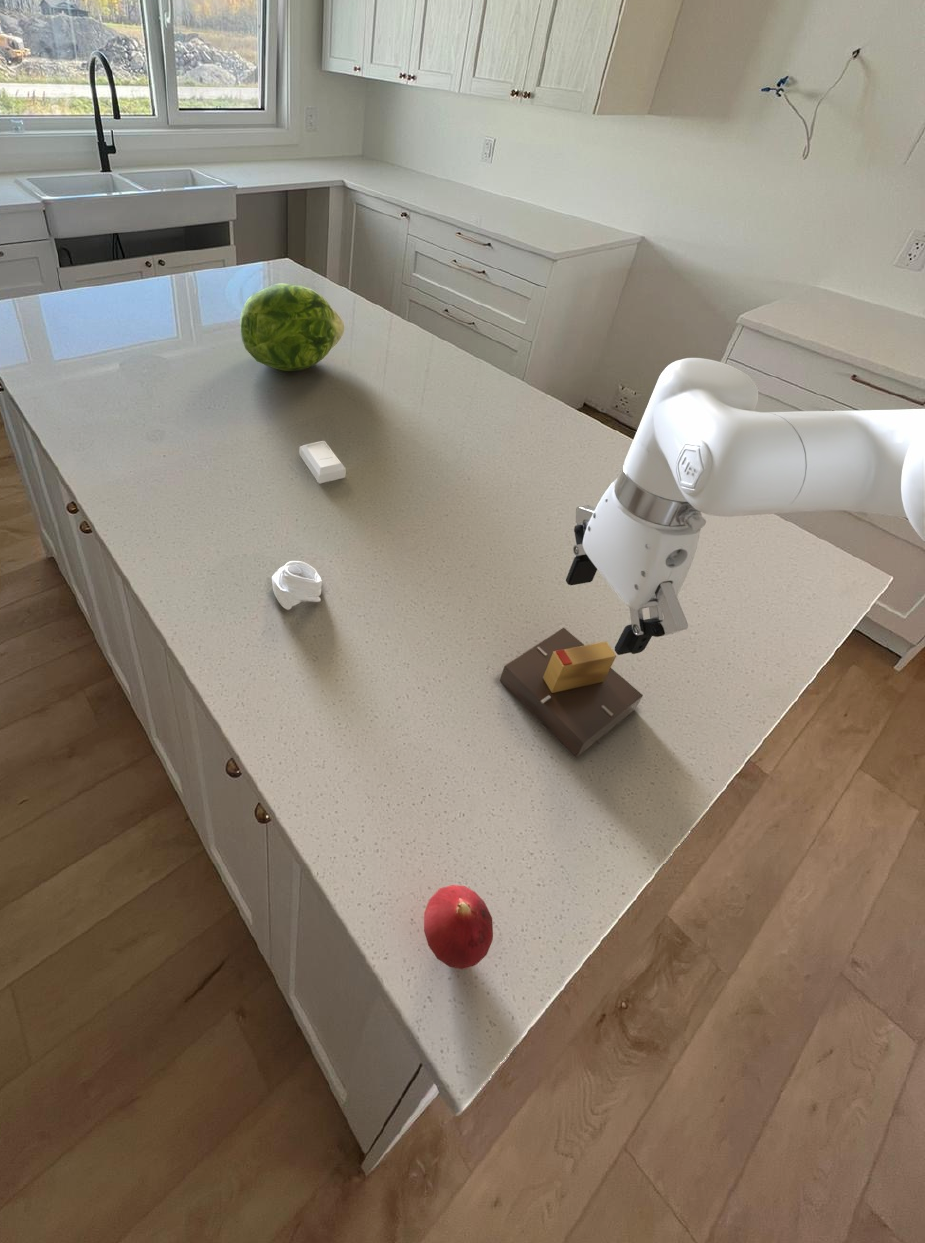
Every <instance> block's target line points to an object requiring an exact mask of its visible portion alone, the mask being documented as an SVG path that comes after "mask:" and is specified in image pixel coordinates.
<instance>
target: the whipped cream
mask: <svg viewBox="0 0 925 1243" xmlns="http://www.w3.org/2000/svg"><path fill="white" fill-rule="evenodd" d="M299 575H300V576H299ZM271 582H272V583H271V584H272V591H273V594H274V596H275V599H276V600H277V602H278V603H279V604H280V606H281V607H283V608H284V609H285V610H287V611H291V609H292V607H295V606H296V605H298V604H300V603H301V602H305V603H308V602H313V603H321V600H322V599H321V597H320V596H321V594H322V586H323V581H322V578H321V576H320V574H319V573H318V571H317V569H316V568H315V567H313V566H312V565H310V564H308V563H307V562H305V561H300V560H291V561H288V562H286V563H285V565H283V566H281V567H280V568H278V569H277V570H276V571H275V572H274V573H273V575H272V576H271Z"/></svg>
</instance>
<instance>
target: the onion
mask: <svg viewBox="0 0 925 1243" xmlns="http://www.w3.org/2000/svg"><path fill="white" fill-rule="evenodd" d="M486 904H487V903H485V901H484V900H483V898H482V897H481V896H479V894H478V893H477V892H476V891H475V890H473V889H471V888H469V887H467V886H466V885H460V884H451V885H448V886H444V887H440V888H438V890H437V891H436V892H435V893H434V894H433V895H432V896H431V897H430V898H429V899H428V901H427V905H426V907H425V910H424V913H423V932H424V936H425V938H426V943H427V945H428V947H429V949H430V950H431V952H432V953H433V955H434V956H435V958H436V959H437V960H439V961H440V962H441V963H443V964H445V965H446V966H448V967H449V968H454V969H459V970H464V969H467V968H471V967H475V966H476V965H478V964H479V963H480V962H481V961H482V960H483V959H484V958H485V957H486V956H487V955H488V953H489V950H490V948H491V945H492V943H493V940H494V938H493V937H494V928H493V926H494V925H493V917H492V914H491V912H490V910H489V908H488V906H487V905H486Z"/></svg>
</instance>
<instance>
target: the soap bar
mask: <svg viewBox="0 0 925 1243" xmlns="http://www.w3.org/2000/svg"><path fill="white" fill-rule="evenodd" d="M299 456H300V458H301V460H302V461H303V463H304V464H305V465H306V467H307V468H308V470H309V471H310V473H311V475H312V476H313V477H314V479H315V480H316V482H317V483H318V484H323V483H328V482H332V481H336V480H341V479H344V478H346V475H347V474H346V472H347V468H346V467H345V465H343V463H342V462H341V461H340V459H339V458H338V457H337V455H336V453H335V452H334V451H333V450H332V449H331V447H330V446H329V444H328V443H327V442H326V441H325V440H321V441H316V442H311V443H306V444H303V445H301V446H299Z"/></svg>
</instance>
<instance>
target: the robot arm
mask: <svg viewBox="0 0 925 1243" xmlns="http://www.w3.org/2000/svg"><path fill="white" fill-rule="evenodd" d="M758 403H759V388H758V386H757V384H756V383H755V380H753V379H752V377H751V376H749V374H747V373H745V372H744V371H743V370H741V369H739V368H736V367H735V366H732V365H730V364H728V363H725V362H721V361H718V360H714V359H709V358H703V357H686V358H685V357H684V358H682V359H678V360H675V361H673V362H671V363H670V364H668V365H667V366H666V367H664V369H663V371H662V372H661V373H660V375H659V376H658V379H657V381H656V384H655V386H654V388H653V391H652V394H651V396H650V398H649V401H648V404H647V406H646V408H645V410H644V413H643V415H642V418H641V420H640V423H639V425H638V428H637V430H636V432H635V435H634V437H633V440H632V442H631V444H630V447H629V449H628V452H627V454H626V457H625V459H624V462H623V464H622V467H621V469H620V471H619V474H618V477H617V478H615V479H614V480H613V481H612V482H611V484H610V485H609V486H608V488H606V490H605V492H604V494H602V496H601V498H600V500H599V501H598V503H597V505H596V507H594V506H592V505H588V504H586V505H580V506H578V505H577V507H576V508H575V523H576V525H575V526H574V527H573V532H574V538H575V545H573V547H572V552H573V554H574V556H575V557H574V558H573V561H572V563H571V566H570V568H569V571H568V573H567V575H566V578H565V582H566V584H567V585H568V586H576V585H577V586H578V585H583V584H589V583H591V582H593V580H594V578H595V576H596V573H597V571H598V572H599V573H600V575H601V576H602V577H603V579H604V580H605V581H606V582H607V584H608V585H609V586H610V587H611V589H612V590H613V592H615V594H616V595H617V596H618V597H619V599H620V600H621V601H622V602H623V603H624V604H625V605H626V606H627V607H628V608H629V615H630V621H631V623H630V624H627V625H625V627H624V628H623V630H622V632H621V634H620V635H619V638H618V640H617V642H616V644H615V646H614V653H615V654H616V655H618V656H620V655H621V656H622V655H626V654H632V655H636V654H640V653H642V652H644V651H645V650H646V648H647V646H648V644H649V643H650V641H651V639H652V637H655V638H660V637H665V636H669V635H674V634H676V633H679V632H682V631H685V630H688V628H689V623H688V621H687V619H686V616H685V613H684V611H683V608H682V605H681V603H680V600H679V599H678V598H679V597H678V595H679V594H680V591H681V589H682V587H683V585H684V583H685V581H686V579H687V575H688V573H689V571H690V569H691V566H692V563H693V561H694V558H695V554H696V552H697V548H698V543H699V540H700V534H701V529H703V527H704V526H705V525H706V523H707V520H706V519H705V518H704V517H703V515H702V514H705V515H707V516H711V517H712V516H713V517H721V518H723V517H727V518H729V517H730V518H731V517H745V516H748V517H749V516H761V515H762V516H763V515H772V514H787V513H788V514H789V513H805V512H826V511H827V512H829V511H833V512H834V511H835V512H837V511H840V512H841V511H843V512H856V513H867V514H876V515H882V516H889V517H890V516H891V517H895V518H896V517H897V518H903V519H907V520H908V522H909V524H910V525H911V527H912V528H913V530H914V531H915V532H916V534H917V535H918V536H919V538H920V539H921V540H922V541H924V542H925V408H911V409H910V408H909V409H908V408H907V409H905V408H904V409H869V410H866V409H865V410H864V409H863V410H859V409H858V410H857V409H856V410H799V411H796V410H795V411H794V410H793V411H767V412H765V411H764V412H763V411H756V408H757V406H758ZM646 608H647V609H648V612H649V618H646V619H645V618H644V614H643V613H644V612H643V609H646Z"/></svg>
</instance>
